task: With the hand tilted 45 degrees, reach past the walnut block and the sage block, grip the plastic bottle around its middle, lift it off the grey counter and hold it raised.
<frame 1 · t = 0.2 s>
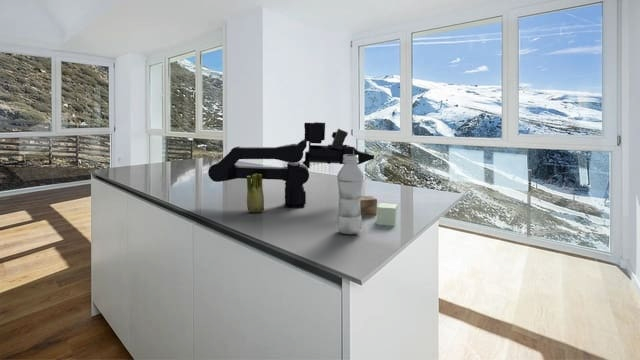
hand: (371, 156, 120), 17 cm above the countertop, tool horizontal, fingers open, 9 cm apart
plastic bottle: (348, 233, 93), on the countertop
sage block: (386, 222, 103), on the countertop
walnut block: (365, 213, 112), on the countertop
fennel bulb: (255, 212, 113), on the countertop
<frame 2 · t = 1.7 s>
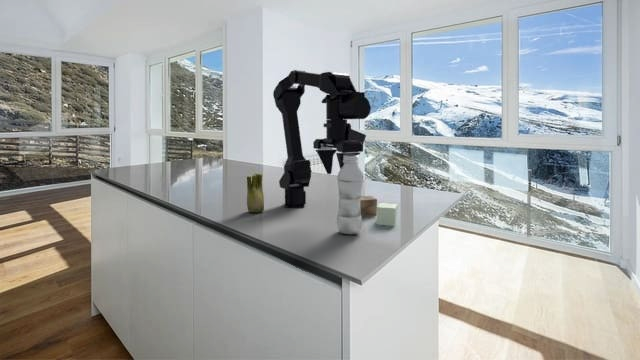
hand: (336, 175, 103), 13 cm above the countertop, tool pointing down, fingers open, 9 cm apart
nothing on the countertop moved.
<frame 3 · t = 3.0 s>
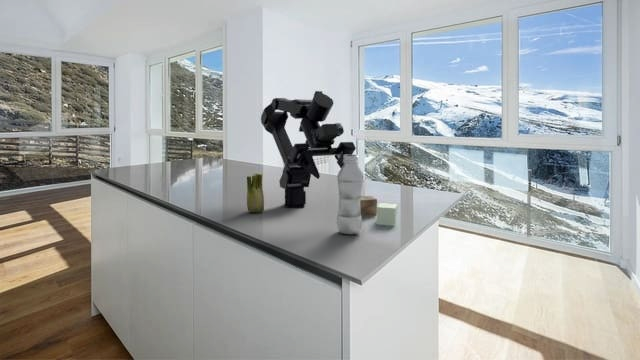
hand: (333, 176, 98), 13 cm above the countertop, tool tilted 45°, fingers open, 9 cm apart
nothing on the countertop moved.
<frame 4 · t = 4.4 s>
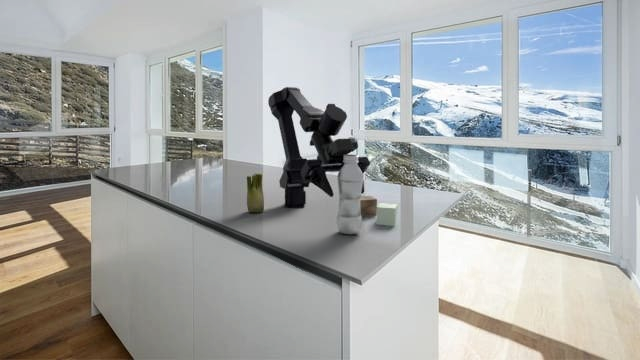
hand: (348, 194, 92), 10 cm above the countertop, tool tilted 45°, fingers open, 9 cm apart
nothing on the countertop moved.
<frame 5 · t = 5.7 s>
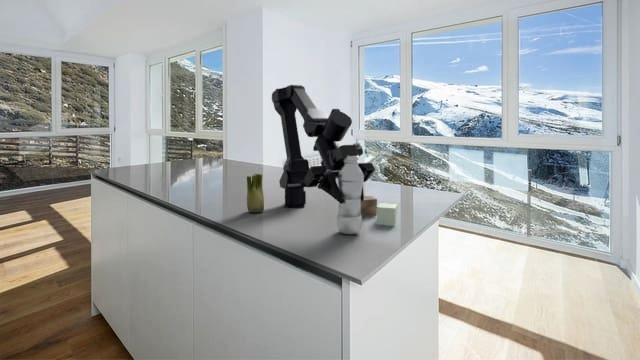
hand: (352, 201, 91), 9 cm above the countertop, tool tilted 45°, fingers closed on plastic bottle, 6 cm apart
plastic bottle: (348, 233, 93), on the countertop, touching gripper
everything else where it was.
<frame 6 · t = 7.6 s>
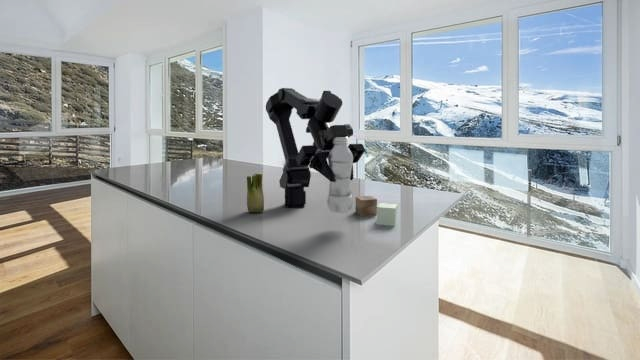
hand: (342, 180, 94), 13 cm above the countertop, tool tilted 45°, fingers closed on plastic bottle, 5 cm apart
plastic bottle: (339, 212, 97), point 4 cm above the countertop, touching gripper
everything else where it was.
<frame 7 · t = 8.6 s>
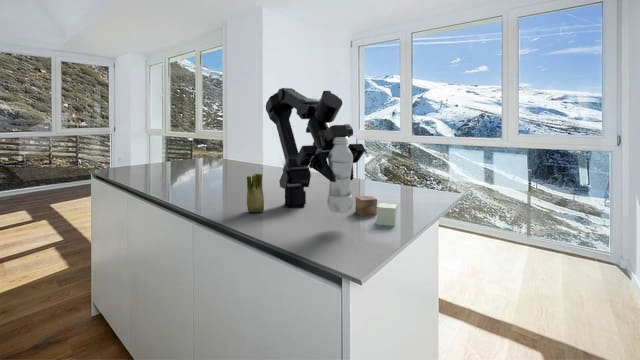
hand: (342, 180, 94), 13 cm above the countertop, tool tilted 45°, fingers closed on plastic bottle, 5 cm apart
plastic bottle: (339, 212, 97), point 4 cm above the countertop, touching gripper
everything else where it was.
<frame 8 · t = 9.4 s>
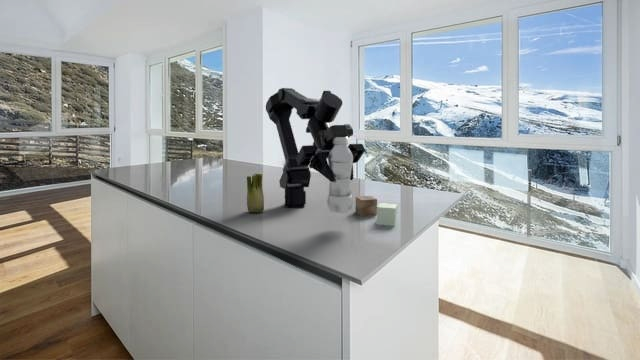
hand: (342, 180, 94), 13 cm above the countertop, tool tilted 45°, fingers closed on plastic bottle, 5 cm apart
plastic bottle: (339, 212, 97), point 4 cm above the countertop, touching gripper
everything else where it was.
at the end: the gripper is holding plastic bottle; plastic bottle point 4.2 cm above the countertop; walnut block moved 0.1 cm from its start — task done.
